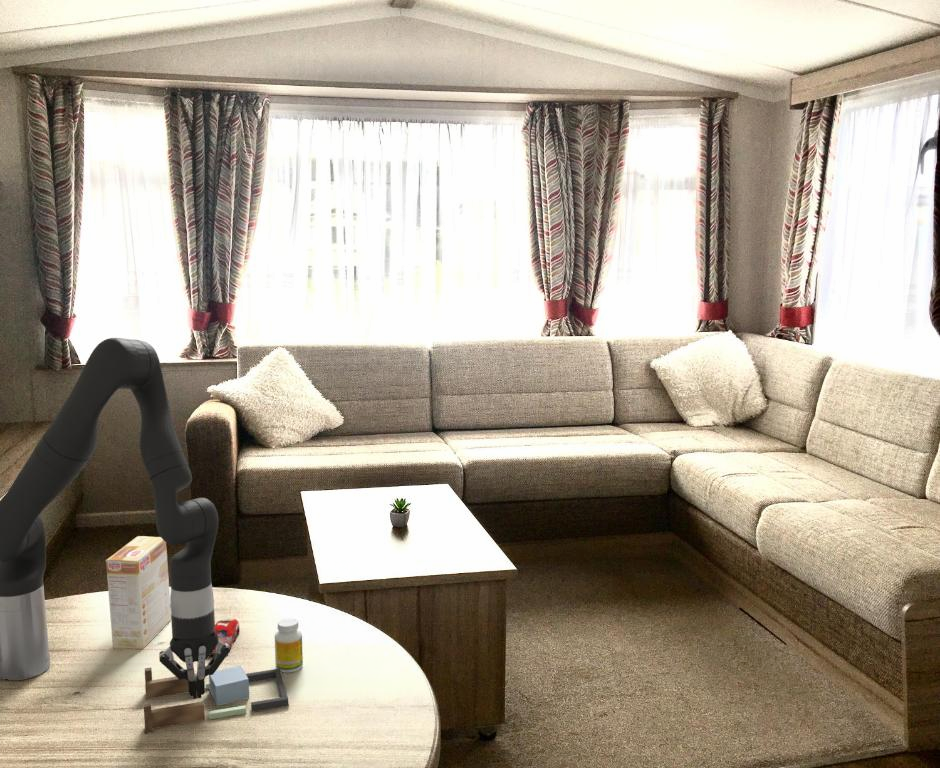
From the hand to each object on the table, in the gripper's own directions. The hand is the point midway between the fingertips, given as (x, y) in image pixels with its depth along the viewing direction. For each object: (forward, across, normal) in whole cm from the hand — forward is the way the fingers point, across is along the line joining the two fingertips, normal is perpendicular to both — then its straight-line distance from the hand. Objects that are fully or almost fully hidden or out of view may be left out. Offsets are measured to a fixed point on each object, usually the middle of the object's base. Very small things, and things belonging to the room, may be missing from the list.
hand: (197, 696), depth 167 cm
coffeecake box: (+2, -10, +35) cm, 36 cm away
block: (+2, +6, +2) cm, 6 cm away
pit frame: (+1, +12, 0) cm, 12 cm away
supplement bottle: (+2, +18, +9) cm, 20 cm away
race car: (+2, +6, +24) cm, 25 cm away
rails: (+1, +5, 0) cm, 5 cm away
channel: (+1, -4, 0) cm, 4 cm away
